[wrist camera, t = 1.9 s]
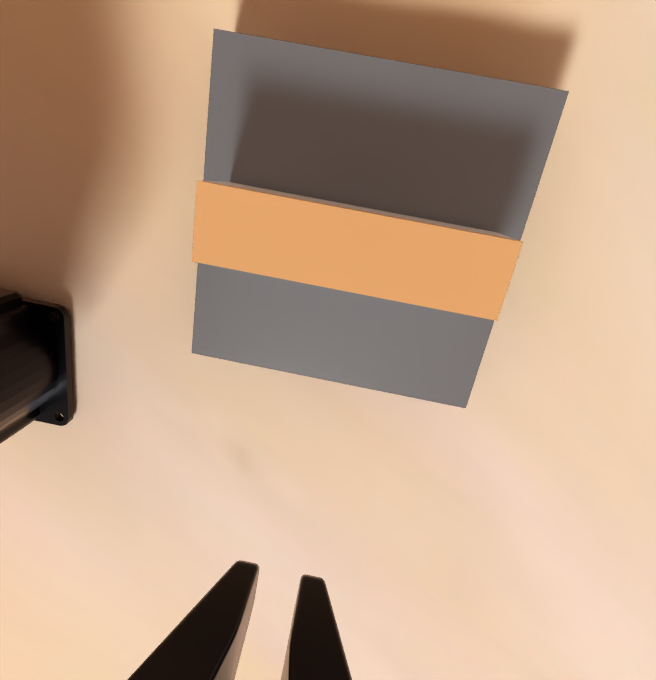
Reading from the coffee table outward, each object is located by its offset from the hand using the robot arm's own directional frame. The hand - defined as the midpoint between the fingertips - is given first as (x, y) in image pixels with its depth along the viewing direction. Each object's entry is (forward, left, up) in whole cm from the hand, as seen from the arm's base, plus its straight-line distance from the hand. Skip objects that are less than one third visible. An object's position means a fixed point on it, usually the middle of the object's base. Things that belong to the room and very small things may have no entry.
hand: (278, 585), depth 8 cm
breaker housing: (+5, 0, -13) cm, 14 cm away
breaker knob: (+5, 0, -11) cm, 12 cm away
